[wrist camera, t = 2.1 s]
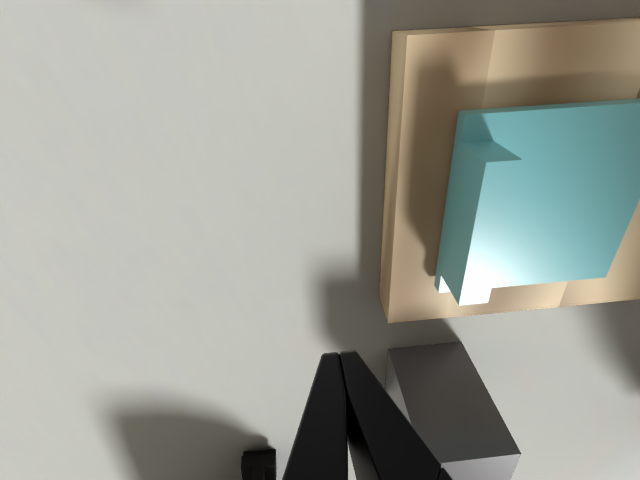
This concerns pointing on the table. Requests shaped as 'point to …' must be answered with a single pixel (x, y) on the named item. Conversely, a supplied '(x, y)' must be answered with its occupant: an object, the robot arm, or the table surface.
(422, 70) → the socket plate
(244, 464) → the security camera
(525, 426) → the table surface
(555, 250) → the panel
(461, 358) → the plug
